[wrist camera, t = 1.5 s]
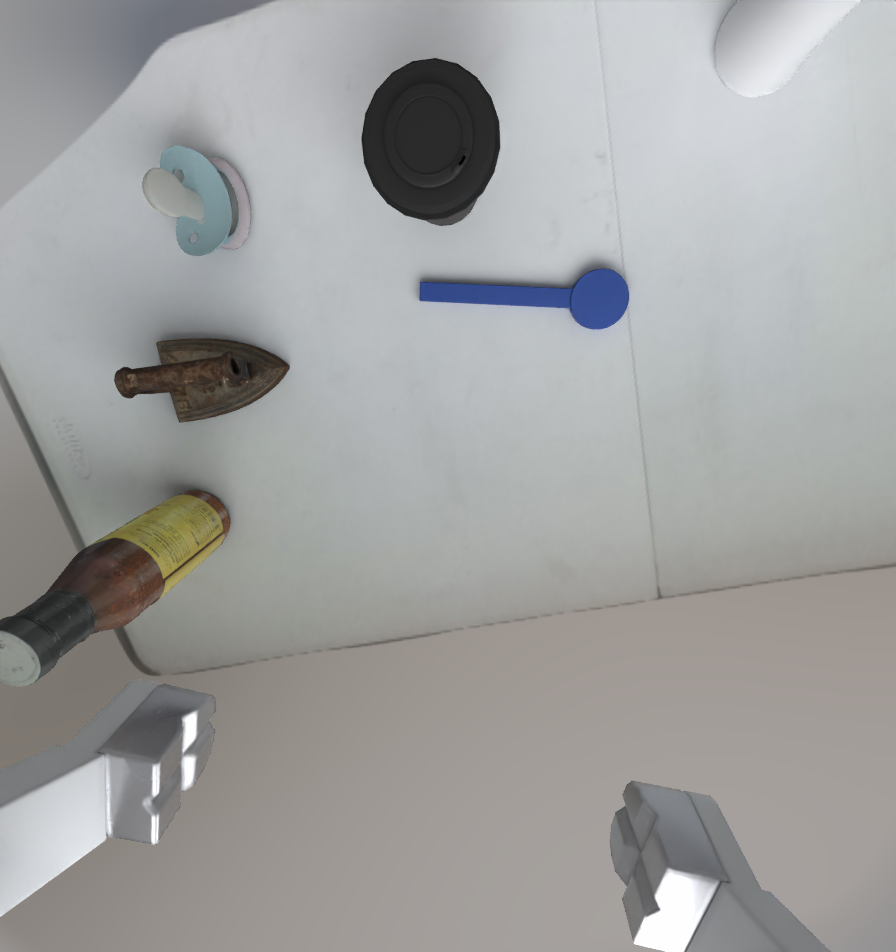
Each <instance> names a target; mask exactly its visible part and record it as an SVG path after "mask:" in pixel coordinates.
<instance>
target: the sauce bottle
mask: <svg viewBox="0 0 896 952" xmlns="http://www.w3.org/2000/svg"><path fill="white" fill-rule="evenodd" d="M229 527H230V518H229V515H228V513H227V511H226V510H225V507H224V506H223V504H222V503H221V502H220V501H219V500H218V499H216V498H215V497H214V496H213V495H210V494H208V493H206V492H201V491H188V492H185V493H183V494H180V495H177V496H174V497H171V498H169V499H167V500H166V501H164V502H163V503H161V504H159V505H158V506H156V507H154V508H152V509H151V510H149V511H147V512H146V513H144V514H142V515H140V516H139V517H137V518H135V519H133V520H131V521H130V522H128V523H126V524H125V525H124V526H122V527H120V528H118V529H116V530H115V531H114V532H111V533H110V534H109V535H107V536H105V537H103V538H102V539H99V540H98V541H96V542H95V543H93V544H92V545H90V546H88V547H87V548H85V549H83V550H82V551H81V552H79V553H78V554H77V555H76V556H75V557H74V558H73V559H72V561H71V562H70V563H69V565H68V566H67V567H66V568H65V570H64V571H63V572H62V573H61V575H60V576H59V577H58V579H57V580H56V581H55V582H54V584H53V585H52V586H51V587H50V589H49V590H48V591H47V592H46V594H44V595H43V596H41V597H40V598H39V599H38V600H37V601H36V602H34V603H33V604H31V605H29V606H28V607H26V608H25V609H23V610H22V611H20V612H19V613H17V614H16V615H14V616H11V617H6V618H3V619H1V620H0V682H1V683H4V684H7V685H12V686H26V685H30V684H32V683H34V682H36V681H37V680H38V679H40V678H41V677H42V676H44V675H45V674H46V673H48V672H49V671H50V670H51V669H52V668H54V666H55V665H56V663H57V661H58V660H59V658H61V657H62V656H63V655H64V654H65V653H67V652H68V651H69V650H71V649H72V648H73V647H74V646H76V645H77V644H78V643H80V642H83V641H84V640H85V639H86V638H87V637H89V635H91V634H93V633H96V632H99V631H104V630H109V629H115V628H119V627H122V626H125V625H126V624H128V623H129V622H131V621H132V620H133V619H135V618H136V617H137V616H139V615H140V613H141V612H143V611H144V610H145V609H146V608H148V606H150V605H152V604H154V603H155V602H156V601H158V600H159V599H160V598H161V597H162V596H163V595H164V594H166V593H167V592H168V591H169V590H170V589H171V588H172V587H174V586H175V585H176V584H177V583H178V582H179V581H180V580H182V579H183V578H184V577H185V576H186V575H187V574H189V573H190V572H191V571H192V570H193V569H194V568H195V567H196V566H198V565H199V564H200V563H201V562H202V561H203V560H205V559H206V558H207V557H208V556H209V555H210V554H211V553H212V552H214V551H215V550H216V549H217V548H218V547H219V546H220V545H221V544H222V543H223V541H224V539H225V538H226V537H227V534H228V532H229Z"/></svg>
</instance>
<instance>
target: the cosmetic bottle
mask: <svg viewBox="0 0 896 952" xmlns="http://www.w3.org/2000/svg"><path fill="white" fill-rule="evenodd" d="M860 1H862V0H739V1H738V2H737V3H736V4H735V5H734V6H733V8H732V9H731V10H730V11H729V13H728V14H727V16H726V17H725V19H724V21H723V23H722V25H721V27H720V30H719V32H718V36H717V39H716V44H715V64H716V68H717V72H718V74H719V77H720V78H721V80H722V82H723V83H724V84H725V86H726V87H727V88H728V89H730V90H731V91H732V92H734V93H736V94H738V95H741V96H745V97H760V96H764V95H767V94H770V93H772V92H774V91H776V90H778V89H779V88H781V87H782V86H783V85H785V84H786V83H787V82H788V81H789V80H790V79H791V78H792V77H793V76H794V75H795V74H796V72H797V71H798V70H799V68H800V67H801V66H802V65H803V63H804V62H805V61H806V59H807V58H808V57H809V56H810V55H811V53H812V52H813V51H814V50H815V49H816V48H817V46H818V45H819V44H820V43H821V42H822V41H823V40H824V39H825V38H826V36H827V35H828V34H829V33H830V32H831V31H832V30H833V29H834V28H835V27H836V26H837V25H838V24H839V23H840V22H841V21H842V20H843V19H844V18H845V17H846V16H847V14H848V13H849V12H850V11H851V10H852V9H853V8H854V7H855V6H856V5H857V4H858V3H859V2H860Z"/></svg>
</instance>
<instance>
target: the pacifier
mask: <svg viewBox="0 0 896 952" xmlns="http://www.w3.org/2000/svg"><path fill="white" fill-rule="evenodd" d="M175 169H180V170H181V171H182V173H183V175H184V180H183V181H182V182H180V181H179V180H178V179H177V178H176V177H175V176H174V170H175ZM218 172H222V173H223V174H224V175H225V176H226V177H227V178H228V180H229V181H230V183H231V185H232V187H233V189H234V191H235V194H236V198H237V201H238V209H239V218H238V224H237V227H236V229H235V231H234V233H233V234H232V235H231V236H229V237H227V236H228V234H229V231H230V228H231V223H232V207H231V201H230V197H229V193H228V190H227V188H226V185H225V183H224V181H223V179H222V177H221V176H220V174H219V173H218ZM142 187H143V192H144V195H145V197H146V199H147V200H148V202H149V203H150V204H151V206H152V207H153V208H155V209H156V210H157V211H158V212H160V213H162V214H164V215H166V216H169V217H178V220H177V226H176V236H177V241H178V244H179V246H180V247H181V249H182V250H183V251H184V252H185V253H187V254H190V255H194V256H202V255H206V254H209V253H211V252H213V251H214V250H216V249H217V248H219V247H220V246H221V247H223V248H225V249H232V250H233V249H235V248H238V247H240V245H241V244H242V243H243V242H244V241H245V239H246V237H247V235H248V233H249V228H250V221H251V211H250V203H249V198H248V195H247V191H246V188H245V186H244V184H243V181H242V179H241V177H240V176H239V174H238V173H237V171H236V170H235V168H234V167H233V166H232V165H230V164H229V163H228V162H227V161H225V160H223V159H221V158H217V157H212V158H209V159H206V158H205V157H204V156H203V155H202V154H200V153H198V152H197V151H194V150H192V149H190V148H187V147H184V146H171V147H169V148H167V149H166V150H165V151H164V152H163V153H162V155H161V159H160V168H154V169H151V170H149V171H148V172H147V173H146V174H145V176H144V178H143V182H142ZM192 233H197V234H198V240H197V241H196V242H195V243H191V242H190V235H191V234H192Z"/></svg>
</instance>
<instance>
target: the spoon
mask: <svg viewBox="0 0 896 952" xmlns="http://www.w3.org/2000/svg"><path fill="white" fill-rule="evenodd" d="M420 301H431V302H452V303H473V304H494V305H515V306H536V307H557V308H570V311H571V314H572V316H573V317H574V319H575V320H576V321H577V322H578V323H579V324H580V325H582V326H583V327H586V328H589V329H603V328H607V327H609V326H611V325H613V324H614V323H616V322H617V321H618V320H619V319H620V318H621V317H622V316H623V314H624V312H625V310H626V308H627V305H628V301H629V291H628V287H627V284H626V282H625V281H624V279H623V278H622V277H621V276H620V275H619V274H618V273H616V272H615V271H612V270H609V269H595V270H592V271H590V272H588V273H586V274H585V275H583V276H582V277H581V278H580V279H579V280H578V281H577V282H576V283H575V285H574V286H573V288H572V289H568V288H546V287H524V286H502V285H480V284H458V283H436V282H420Z"/></svg>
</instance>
